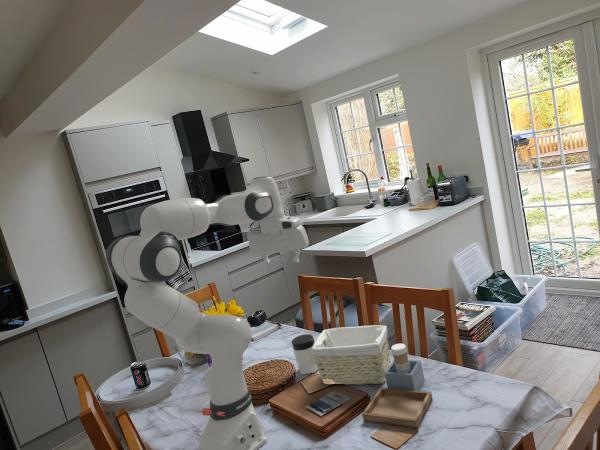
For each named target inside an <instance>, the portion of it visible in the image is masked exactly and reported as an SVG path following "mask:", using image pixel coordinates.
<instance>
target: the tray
mask: <svg viewBox="0 0 600 450" xmlns="http://www.w3.org/2000/svg"><path fill="white" fill-rule="evenodd" d="M433 400H434V398H433V394H432V391H425V390H424V391H423V390H418V391H414V390H402V389H391V388H388V387H380V388H379V389H378V390H377V392H376V393H375V395H374V396H373V398H372V399H371V400H370V402H369V404H368V405H367V406H366V408H365V409H364V411H363V412H362V413H361V414H362V415H361V416H362V419H363V422H364V423H365V422H366V423H370V424H371V423H372V424H380V425H387V426H394V427H400V426H403V427H402V428H408V427H411V428H410V429H417V430H418V429H419V428H420V425H421V424H422V422H423V420H424V417H425V415H426V413H427V412H428V409H429V407H431V406H430V405H431V403H432V401H433ZM404 426H405V427H404Z"/></svg>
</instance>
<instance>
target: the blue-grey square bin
mask: <svg viewBox="0 0 600 450" xmlns="http://www.w3.org/2000/svg"><path fill="white" fill-rule="evenodd" d="M408 360H409V365H410V369H411V373H410V374H408V373H397V372H396V366H395V362H394V359H393V360H392V361H391V362H390V366H389V367H388V369H387V370H386V372H385V373H384V374H385V378H386V381H385V382H386V386H387V387H386V388H391V389H402V390H414V391H420V388H421V387H422V385H423V384H424V381H425V375H424V370H423V365H422V360H416V359H414V360H413V359H408Z"/></svg>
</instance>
